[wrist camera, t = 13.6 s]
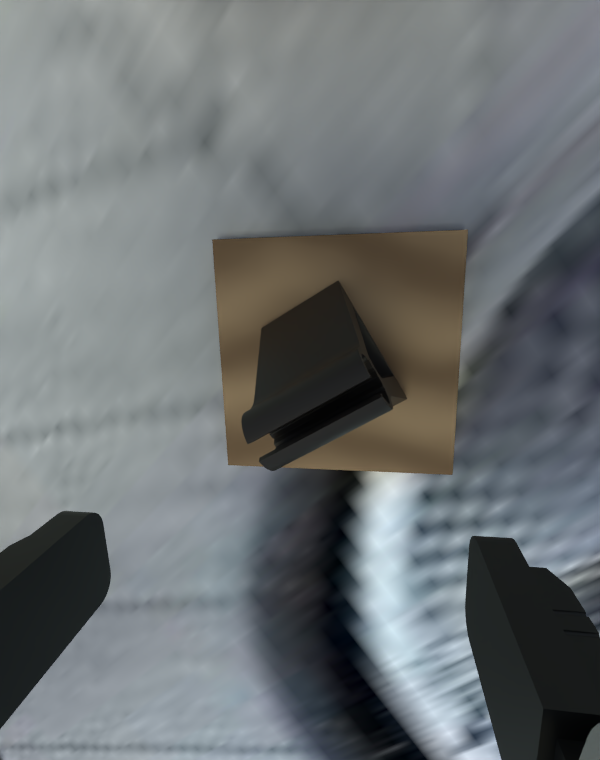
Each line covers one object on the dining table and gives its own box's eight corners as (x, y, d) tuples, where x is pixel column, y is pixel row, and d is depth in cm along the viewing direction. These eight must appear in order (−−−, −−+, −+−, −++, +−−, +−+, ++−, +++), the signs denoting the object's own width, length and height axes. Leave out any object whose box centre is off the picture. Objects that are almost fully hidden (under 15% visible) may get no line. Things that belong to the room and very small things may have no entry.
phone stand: (262, 326, 30) (194, 363, 18) (339, 279, 28) (318, 286, 17) (329, 437, 31) (306, 537, 19) (407, 397, 29) (431, 480, 18)
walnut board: (449, 467, 31) (452, 474, 30) (233, 458, 34) (228, 464, 33) (463, 231, 27) (467, 229, 26) (218, 240, 30) (212, 239, 29)
